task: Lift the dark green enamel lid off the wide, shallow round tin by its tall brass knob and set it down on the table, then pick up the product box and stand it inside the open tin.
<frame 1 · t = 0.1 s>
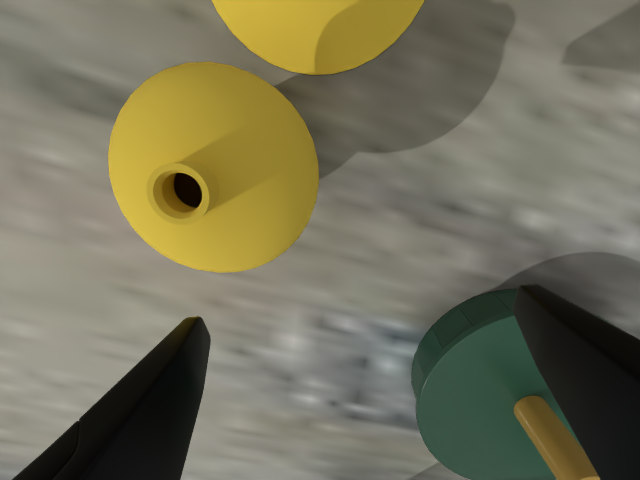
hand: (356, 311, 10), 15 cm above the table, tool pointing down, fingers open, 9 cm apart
tin lid: (525, 401, 25), point 3 cm above the table, touching tin
tin: (502, 369, 29), on the table
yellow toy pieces: (289, 38, 21), on the table
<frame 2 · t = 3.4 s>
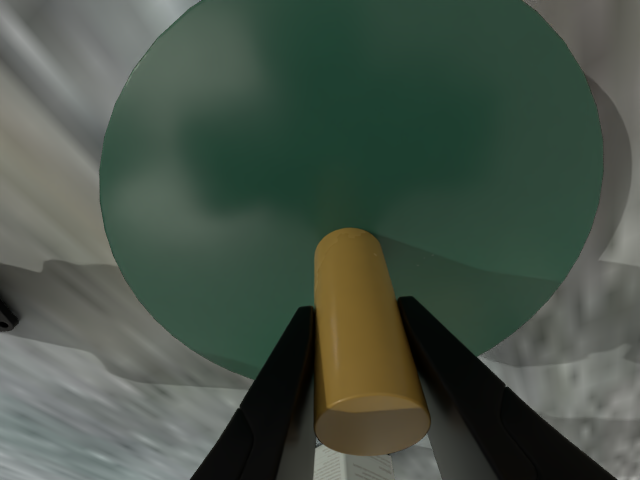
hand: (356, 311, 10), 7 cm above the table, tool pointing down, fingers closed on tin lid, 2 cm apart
tin lid: (346, 246, 12), point 3 cm above the table, touching gripper, tin
product box: (342, 454, 29), on the table
when the fingers open (4 cm above the table, at t = 7.9 s): tin lid stays where it is, point 1 cm above the table.
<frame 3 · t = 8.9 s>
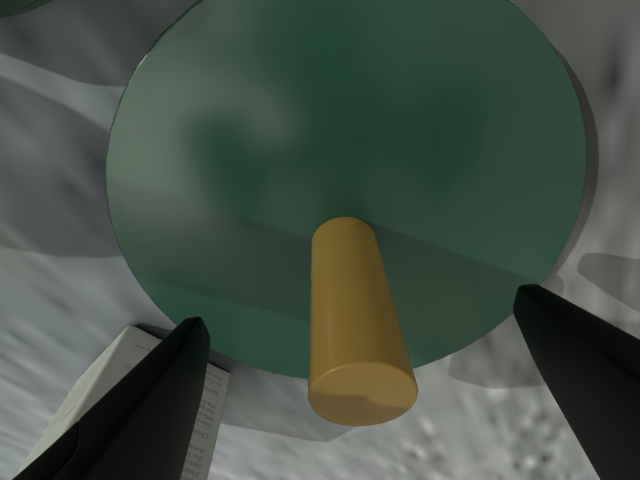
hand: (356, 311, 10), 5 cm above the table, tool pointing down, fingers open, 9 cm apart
tin lid: (342, 235, 13), point 1 cm above the table
product box: (158, 371, 19), on the table
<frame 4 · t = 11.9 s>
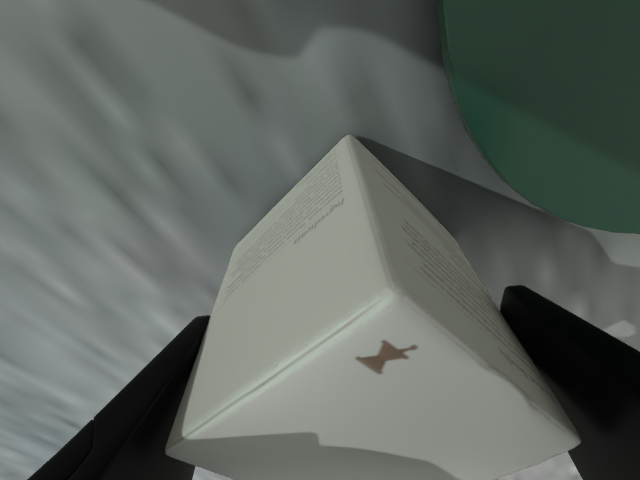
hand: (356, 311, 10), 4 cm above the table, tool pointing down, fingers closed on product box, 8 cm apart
product box: (345, 240, 13), on the table, touching gripper
when the fingers open (4 cm above the table, at t = 17.6 s): product box stays where it is, resting on tin.
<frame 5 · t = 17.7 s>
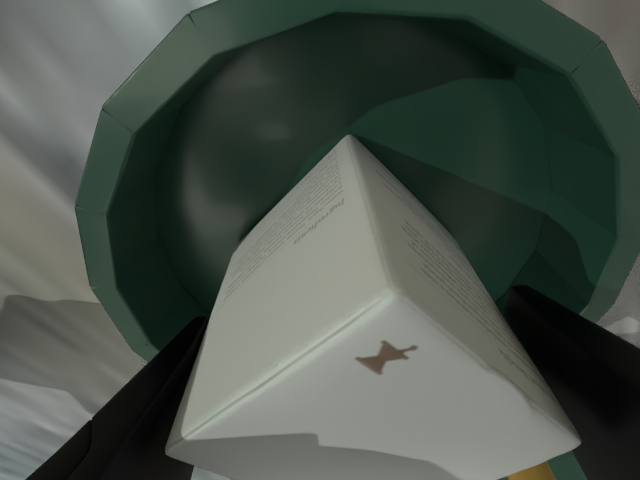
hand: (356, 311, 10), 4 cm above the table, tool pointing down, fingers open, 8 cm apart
tin lid: (513, 441, 21), point 1 cm above the table
tin: (349, 234, 13), on the table
product box: (345, 240, 13), resting on tin
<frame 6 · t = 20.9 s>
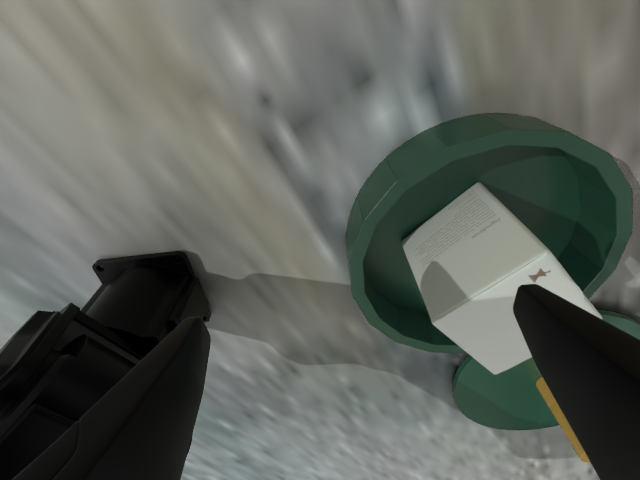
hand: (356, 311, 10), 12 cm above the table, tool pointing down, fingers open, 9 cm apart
tin lid: (545, 375, 30), point 1 cm above the table
tin: (462, 234, 22), on the table
product box: (461, 237, 22), resting on tin
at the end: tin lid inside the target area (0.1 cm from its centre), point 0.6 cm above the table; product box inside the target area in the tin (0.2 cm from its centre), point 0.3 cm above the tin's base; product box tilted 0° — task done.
